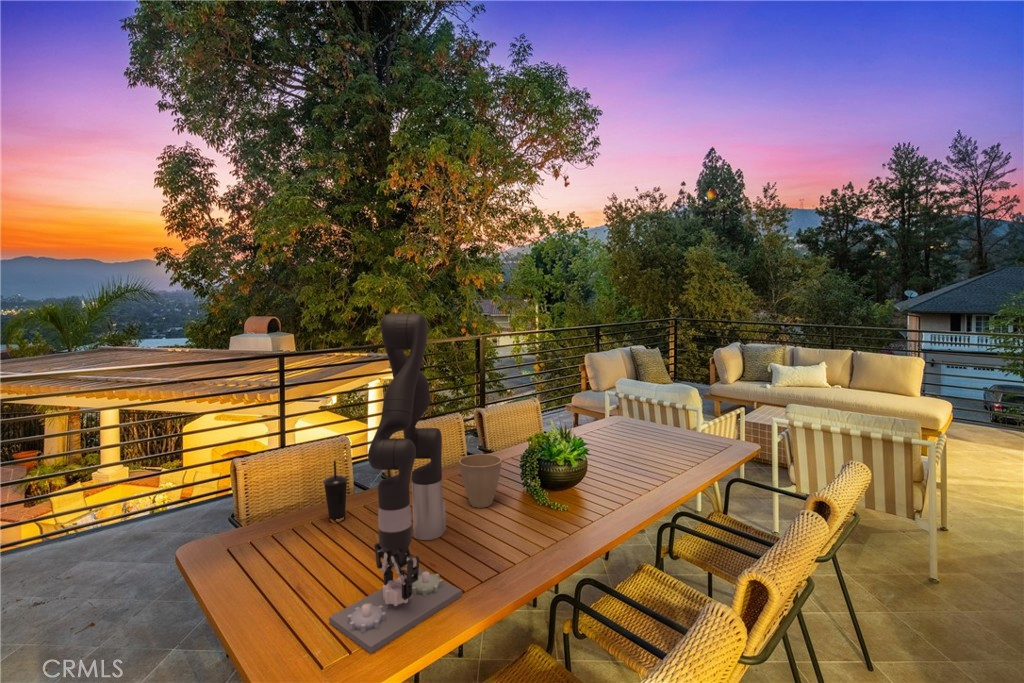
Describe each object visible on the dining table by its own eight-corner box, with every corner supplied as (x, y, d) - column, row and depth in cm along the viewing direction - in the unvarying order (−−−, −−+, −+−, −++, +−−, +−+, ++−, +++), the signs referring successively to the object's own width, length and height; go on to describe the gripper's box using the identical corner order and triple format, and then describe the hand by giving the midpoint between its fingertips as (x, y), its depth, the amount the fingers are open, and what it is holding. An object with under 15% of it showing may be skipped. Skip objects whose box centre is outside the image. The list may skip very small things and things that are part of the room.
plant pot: (508, 508, 176) (507, 463, 174) (467, 515, 170) (466, 469, 169) (494, 493, 189) (493, 451, 188) (455, 499, 184) (454, 456, 183)
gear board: (419, 574, 134) (418, 556, 134) (461, 596, 124) (461, 576, 123) (329, 623, 114) (328, 602, 114) (371, 654, 104) (370, 630, 103)
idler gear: (400, 586, 123) (399, 574, 123) (417, 596, 119) (417, 584, 119) (377, 598, 118) (377, 586, 118) (395, 609, 114) (394, 596, 114)
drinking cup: (352, 514, 172) (349, 457, 171) (345, 524, 165) (342, 464, 163) (329, 515, 172) (326, 457, 171) (321, 525, 165) (318, 465, 163)
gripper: (428, 526, 116) (430, 596, 117) (389, 510, 125) (392, 575, 126) (401, 538, 110) (404, 612, 111) (363, 520, 119) (366, 589, 120)
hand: (397, 592), depth 119 cm, fingers closed on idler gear, 6 cm apart
